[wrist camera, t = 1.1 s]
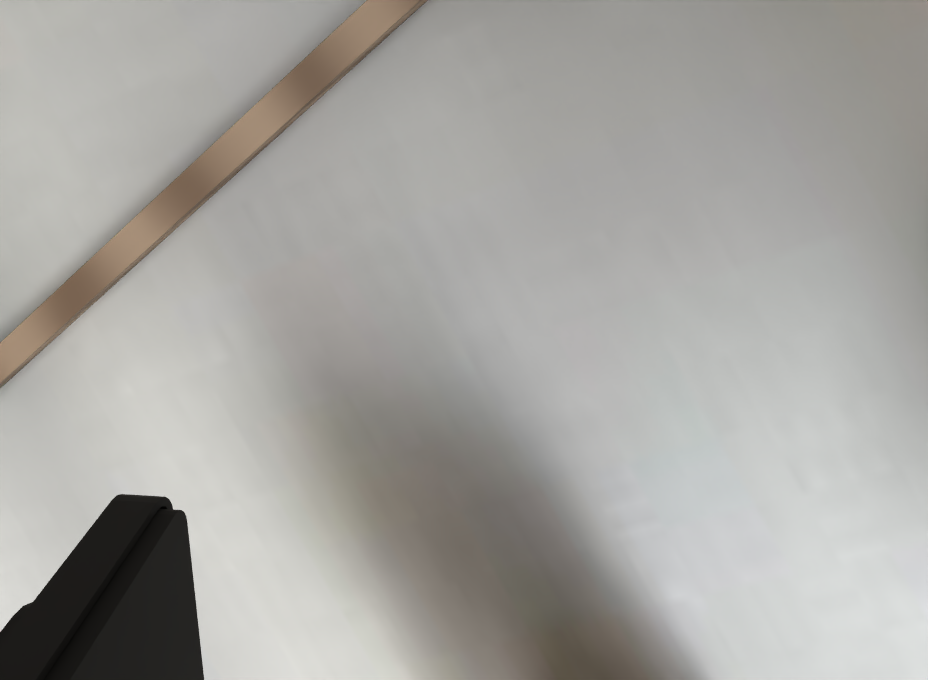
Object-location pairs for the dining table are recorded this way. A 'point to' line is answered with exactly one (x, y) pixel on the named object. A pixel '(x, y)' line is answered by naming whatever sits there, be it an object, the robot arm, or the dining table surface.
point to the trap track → (205, 177)
